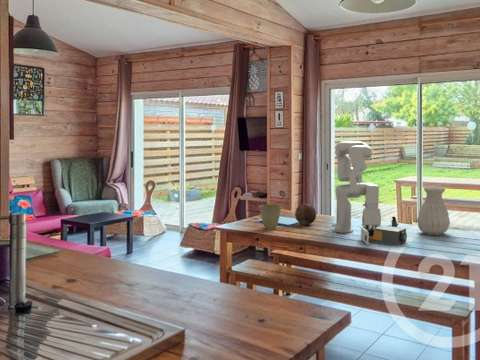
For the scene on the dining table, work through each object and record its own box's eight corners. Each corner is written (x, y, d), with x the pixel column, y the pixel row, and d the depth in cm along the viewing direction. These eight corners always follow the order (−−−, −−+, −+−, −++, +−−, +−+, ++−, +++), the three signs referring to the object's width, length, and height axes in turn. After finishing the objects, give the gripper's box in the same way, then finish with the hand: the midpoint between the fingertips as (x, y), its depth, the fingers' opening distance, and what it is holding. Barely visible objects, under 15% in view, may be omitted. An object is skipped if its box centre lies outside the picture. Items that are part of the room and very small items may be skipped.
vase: (432, 237, 304) (433, 190, 301) (409, 231, 322) (411, 186, 319) (456, 235, 311) (458, 188, 308) (433, 229, 330) (435, 185, 327)
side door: (359, 238, 300) (359, 227, 300) (362, 238, 300) (362, 227, 300) (365, 244, 286) (365, 232, 285) (368, 244, 286) (368, 232, 285)
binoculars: (381, 217, 323) (397, 216, 321) (382, 232, 324) (398, 231, 322) (382, 219, 314) (398, 218, 312) (383, 235, 315) (400, 234, 313)
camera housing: (362, 239, 300) (363, 225, 299) (372, 236, 309) (372, 222, 308) (400, 245, 284) (400, 230, 283) (409, 242, 292) (409, 227, 291)
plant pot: (264, 226, 343) (265, 203, 342) (284, 228, 336) (284, 205, 335) (255, 230, 330) (255, 206, 329) (275, 232, 323) (275, 208, 322)
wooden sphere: (317, 223, 353) (317, 202, 352) (314, 227, 339) (314, 205, 337) (296, 222, 357) (296, 202, 356) (293, 226, 343) (293, 205, 341)
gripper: (361, 206, 283) (360, 237, 285) (386, 206, 284) (385, 237, 286) (357, 204, 290) (356, 234, 292) (382, 204, 291) (381, 234, 293)
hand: (370, 236), depth 289 cm, fingers closed
